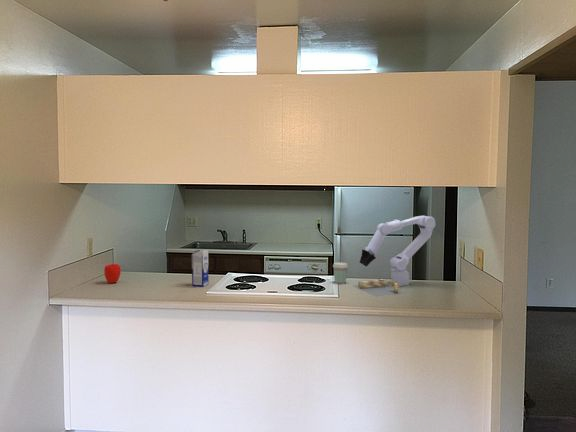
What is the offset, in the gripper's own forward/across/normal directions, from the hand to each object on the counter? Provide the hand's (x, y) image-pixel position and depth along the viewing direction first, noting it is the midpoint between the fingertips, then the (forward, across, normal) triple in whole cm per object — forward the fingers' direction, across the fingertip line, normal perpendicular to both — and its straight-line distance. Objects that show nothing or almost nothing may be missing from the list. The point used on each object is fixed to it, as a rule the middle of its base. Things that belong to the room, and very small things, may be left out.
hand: (363, 264), depth 247 cm
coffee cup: (+16, -6, -8) cm, 19 cm away
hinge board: (+8, +1, +15) cm, 17 cm away
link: (+8, -3, +10) cm, 13 cm away
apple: (+81, +46, -108) cm, 142 cm away
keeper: (+4, +3, +23) cm, 23 cm away
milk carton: (+56, +30, -66) cm, 91 cm away
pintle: (+2, -5, +12) cm, 13 cm away
